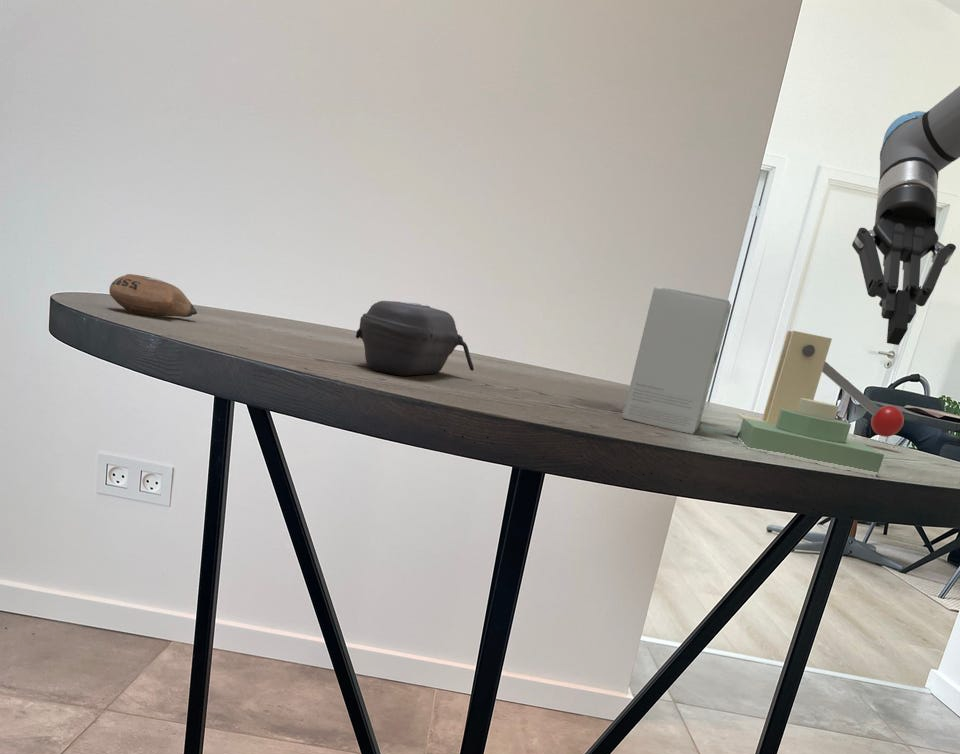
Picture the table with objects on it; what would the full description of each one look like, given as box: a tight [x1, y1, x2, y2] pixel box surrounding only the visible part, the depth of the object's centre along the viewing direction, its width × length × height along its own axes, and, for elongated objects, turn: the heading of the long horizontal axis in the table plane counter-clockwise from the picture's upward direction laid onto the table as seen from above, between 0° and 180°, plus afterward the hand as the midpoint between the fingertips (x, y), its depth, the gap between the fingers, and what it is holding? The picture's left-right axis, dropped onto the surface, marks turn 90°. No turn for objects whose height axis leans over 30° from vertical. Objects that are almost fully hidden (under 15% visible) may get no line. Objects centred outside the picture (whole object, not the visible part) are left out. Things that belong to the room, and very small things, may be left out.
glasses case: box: [355, 300, 475, 377], centre depth 97 cm, size 18×10×8 cm, turn 168°
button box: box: [737, 409, 885, 473], centre depth 93 cm, size 12×10×4 cm
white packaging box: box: [622, 286, 732, 435], centre depth 95 cm, size 7×7×13 cm
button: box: [797, 398, 840, 421], centre depth 92 cm, size 4×4×2 cm
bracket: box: [737, 330, 833, 424], centre depth 114 cm, size 10×8×12 cm
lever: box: [822, 361, 905, 438], centre depth 113 cm, size 16×4×4 cm, turn 80°
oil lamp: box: [109, 273, 198, 318], centre depth 102 cm, size 9×4×8 cm
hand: (897, 336), depth 120 cm, fingers closed
